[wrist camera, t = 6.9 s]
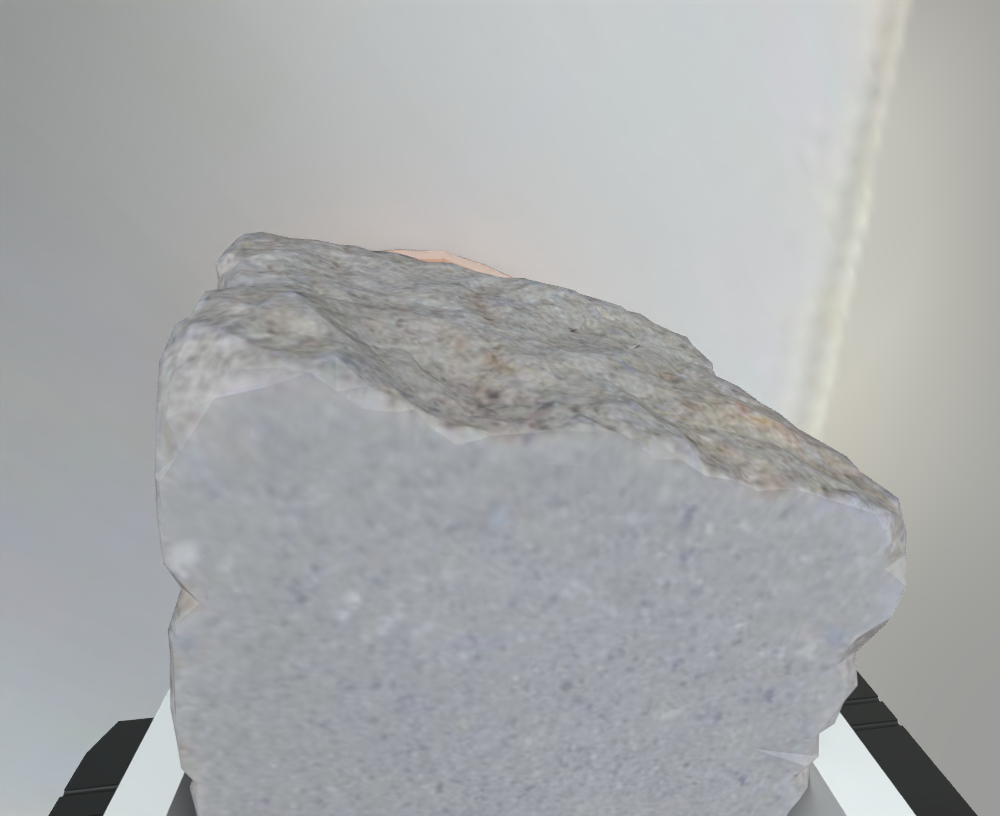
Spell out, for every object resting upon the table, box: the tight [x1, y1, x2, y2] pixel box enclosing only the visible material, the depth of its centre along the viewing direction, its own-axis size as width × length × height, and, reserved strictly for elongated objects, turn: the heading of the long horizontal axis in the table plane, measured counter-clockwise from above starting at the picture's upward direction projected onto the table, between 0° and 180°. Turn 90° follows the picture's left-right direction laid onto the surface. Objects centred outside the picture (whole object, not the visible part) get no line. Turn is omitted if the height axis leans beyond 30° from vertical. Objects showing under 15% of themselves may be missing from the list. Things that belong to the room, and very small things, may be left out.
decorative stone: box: [155, 232, 906, 816], centre depth 10 cm, size 15×7×10 cm
